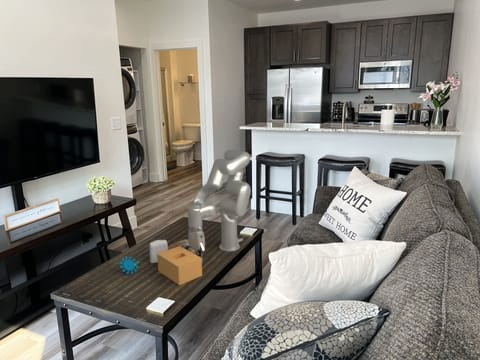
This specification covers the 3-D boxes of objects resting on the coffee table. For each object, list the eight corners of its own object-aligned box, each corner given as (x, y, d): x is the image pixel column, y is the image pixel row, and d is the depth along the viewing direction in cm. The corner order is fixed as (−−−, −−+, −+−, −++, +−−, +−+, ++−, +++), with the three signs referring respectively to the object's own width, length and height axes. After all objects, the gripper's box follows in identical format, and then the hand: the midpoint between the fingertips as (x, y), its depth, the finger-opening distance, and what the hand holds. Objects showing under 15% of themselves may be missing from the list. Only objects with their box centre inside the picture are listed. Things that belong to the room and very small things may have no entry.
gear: (123, 275, 183) (117, 257, 187) (119, 280, 186) (113, 263, 190) (143, 270, 191) (136, 253, 195) (138, 275, 194) (132, 258, 198)
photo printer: (167, 257, 206) (166, 237, 203) (169, 260, 203) (168, 240, 200) (149, 261, 202) (148, 240, 199) (151, 264, 198) (149, 243, 195)
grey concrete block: (201, 258, 204) (200, 243, 202) (205, 260, 202) (204, 245, 199) (188, 263, 198) (187, 248, 196) (192, 265, 196) (191, 250, 194)
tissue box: (180, 262, 200) (179, 246, 197) (202, 275, 185) (201, 257, 183) (158, 271, 190) (157, 253, 188) (179, 285, 176) (178, 266, 174)
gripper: (210, 230, 192) (211, 261, 196) (192, 222, 203) (193, 252, 208) (199, 234, 187) (200, 266, 191) (181, 225, 199) (182, 256, 203)
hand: (196, 258), depth 199 cm, fingers closed on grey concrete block, 3 cm apart
